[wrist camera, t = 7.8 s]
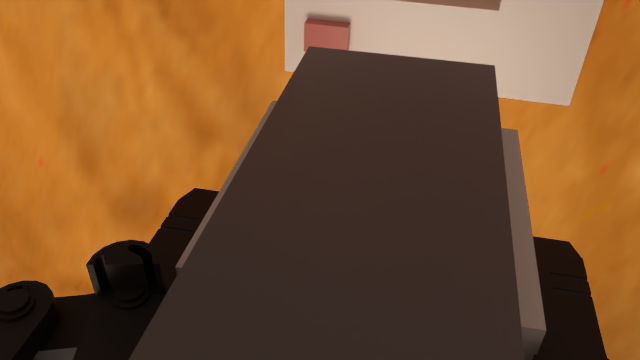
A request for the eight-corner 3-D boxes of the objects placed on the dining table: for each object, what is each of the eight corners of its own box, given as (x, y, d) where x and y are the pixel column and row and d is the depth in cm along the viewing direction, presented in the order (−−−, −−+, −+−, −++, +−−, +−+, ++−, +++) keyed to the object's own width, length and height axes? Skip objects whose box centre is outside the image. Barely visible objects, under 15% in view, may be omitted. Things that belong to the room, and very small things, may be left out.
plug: (494, 65, 15) (563, 742, 4) (462, 212, 18) (457, 826, 7) (308, 46, 16) (-2, 585, 5) (307, 190, 18) (107, 717, 8)
